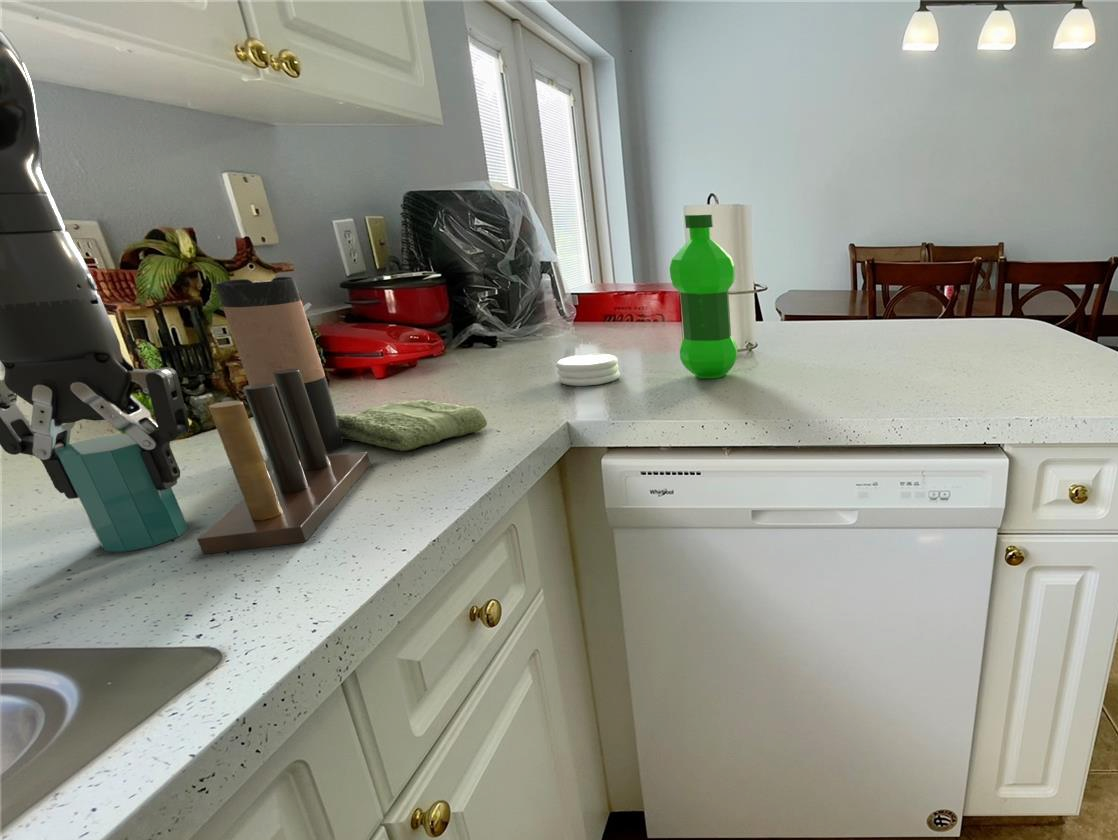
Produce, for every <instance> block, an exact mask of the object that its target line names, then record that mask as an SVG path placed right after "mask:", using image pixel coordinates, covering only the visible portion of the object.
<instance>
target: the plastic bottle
mask: <svg viewBox="0 0 1118 840" xmlns="http://www.w3.org/2000/svg"><path fill="white" fill-rule="evenodd" d="M684 221H685V228H686V229H689V239H688V241H687V242H685V244H684V245H683V246H682V247H681V248H679V250H678V251H677V253H675V255H674V256H673V257H672V259H671V261H670V264H669V265H670V266H669V276H670V280H671V284H672V286H673V287H674V289H676V291H678V292H679V296H680V306H681V307H680V308H681V318H682V329H683V340H682V342H681V345H680V349H679V359H680V361H681V363H682V366H684V367H685V368H686V370H688V371H689V373H691V374H693V375H695V378H699V379H717V378H718V379H719V378H722V377H726V375H727V373H728V372H729V371H730V370H731V369H732V368H733V366H734V365H735V363H736V361H737V357H738V354H739V353H738V352H739V351H738V345H737V342H736V340H735V338H734V337H733V335H732V330H731V328H732V327H731V326H732V325H731V311H730V296H729V295H730V294H729V289H730V288H731V287H732V286H733V284H734V283H735V276H736V268H735V267H736V265H735V262H734V260H733V258H732V256H731V255H730V254H729V253H728V252H727V251H726V250H724V248H723V247H722V246H721V245H719V244H718V242H716V241H715V240H714V239H712V238H711V228H713V227H714V222H713V221H714V220H713V214H685V215H684Z"/></svg>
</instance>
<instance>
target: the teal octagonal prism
mask: <svg viewBox="0 0 1118 840" xmlns="http://www.w3.org/2000/svg"><path fill="white" fill-rule="evenodd" d="M143 450H144V449H143V448H141V447H140V446H139V445H138V444H137V443H136V442H135V441H134V440H133V439H131V438H130V437H129V436H128V435H127V434H126V433H120V434H119V433H118V434H113V435H112V434H111V435H105V436H100V437H99V436H97V437H93V438H89V439H85V440H80V441H77V442H72V443H69V445H67V446H64V447H62V448H60V449H58V450H56V451H55V454H56V456H57V458H58V460H59V462H60V464H61V466H62V468H63V470H64V472H65V474H66V476H67V478H68V480H69V482H70V484H71V486H72V488H73V490H74V492H75V494H76V496H77V498H76V499H77V500H78V502H79V504H80V506H81V508H82V511H83V513H84V514H85V517H86V518H87V520H88V522H89V525H90V527H91V528H92V530H93V532H94V535H95V537H96V539H97V541H98V542H99V545H100V547H101V548H102V549H103V550H104V551H105V552H107V553H109V552H111V553H113V552H115V553H116V552H121V553H122V552H124V553H125V552H131V551H136V550H142V549H147V548H151V547H156V546H159V545H161V544H164V543H166V542H169V541H173V540H174V539H177V538H179V537H180V536H182V535H183V534H185V532H187V531H188V530H189V526H188V523H187V521H186V519H185V517H184V514H183V512H182V509H181V507H180V505H179V503H178V500H177V497H176V495H175V493H174V491H173V487H171V488H169V489H164V490H157V489H156V488H155V485H154V483H153V481H152V479H151V476H150V474H149V472H148V470H147V467H146V465H145V463H144V461H143V458H142V456H141V454H140V452H141V451H143Z"/></svg>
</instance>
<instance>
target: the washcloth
mask: <svg viewBox="0 0 1118 840" xmlns="http://www.w3.org/2000/svg"><path fill="white" fill-rule="evenodd" d="M336 417H337V421H338V425H339V428H340V432H341V436H342V439H348V440H350V441H353V442H355V441H357V442H362V443H364V444H369V445H374V446H376V447H382V448H387V449H391V450H395V451H401V452H403V451H405V452H406V451H410V450H416V449H418V448H420V447H423V446H426V445H427V446H429V445H432V444H437V443H439V442H440V441H442V440H447V439H450V438H457V437H462V436H465V435H468V434H472V433H475V432H480V431H482V430H483V429H484V428H486V427H487V424H488V421H487V419H486V417H485V415H484V413H483V412H482V411H481V409H480V408H478V407H476V406H474V405H473V406H472V405H466V406H465V405H464V406H461V405H457V404H455V403H445V402H439V401H432V400H427V399H415V400H409V401H404V402H402V401H401V402H394V403H393V402H392V403H389V404H386V405H379V406H374V407H369V408H366V409H365V410H362V411H360V412H358V413H352V414H351V413H341V414H338V415H336Z"/></svg>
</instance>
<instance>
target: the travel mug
mask: <svg viewBox="0 0 1118 840" xmlns="http://www.w3.org/2000/svg"><path fill="white" fill-rule="evenodd" d="M214 284H215V285H214V286H215V289H216V291H217V294H218V297H219V298H218V299H219V300H220V303H221V306H222V309H223V312H224V314H225V318H226V321H227V324H228V326H229V329H230V333H231V335H232V336H231V337H232V339H233V341H234V343H235V347H236V350H237V353H238V356H239V359H240V362H241V365H242V367H243V371H244V373H245V376H246V379H247V382H248V386H249V385H254V384H261V383H272V384H274V387H275V390H276V393H277V396H278V399H279V402H280V404H281V407H282V410H283V413H284V416H285V419H286V422H287V425H288V428H289V431H290V434H291V437H292V440H293V442H294V445H295V448H296V451H297V454H298V457H299V458H301V457H300V454H299V451H298V448H297V445H296V442H295V439H294V436H293V433H292V430H291V427H290V425H289V422H288V419H287V416H286V413H285V410H284V407H283V404H282V401H281V398H280V395H279V392H278V389H277V386H276V383H275V381H274V378H273V375H272V372H274V371H278V370H283V369H299V370H300V373H301V376H302V379H303V382H304V385H305V388H306V391H307V394H308V398H309V401H310V404H311V407H312V410H313V413H314V416H315V419H316V422H317V425H318V428H319V432H320V435H321V438H322V441H323V444H324V447H325V450H326V453H330V452H333V451H335V450H338V449H340V448H341V447H343V445H344V441H343V437H342V436H341V432H340V428H339V425H338V421H337V417H336V416H337V414H336V410H335V406H334V402H333V400H332V396H331V391H330V388H329V384H328V379H327V377H326V374H325V370H324V367H323V365H322V361H321V358H320V355H319V352H318V348H317V345H316V342H315V339H314V336H313V333H312V330H311V327H310V324H309V320H308V318H307V315H306V314H307V313H306V311H305V308H304V305H303V301H302V300H301V299H302V298H301V294H300V292H299V288H298V286H297V282H296V280H295V278H294V277H290V276H278V277H274V278H272V280H270V281H256V282H254V281H252V280H250V279H249V278H248V279H247V278H241V279H239V278H238V279H230V280H221V281H216V282H215V283H214Z"/></svg>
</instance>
